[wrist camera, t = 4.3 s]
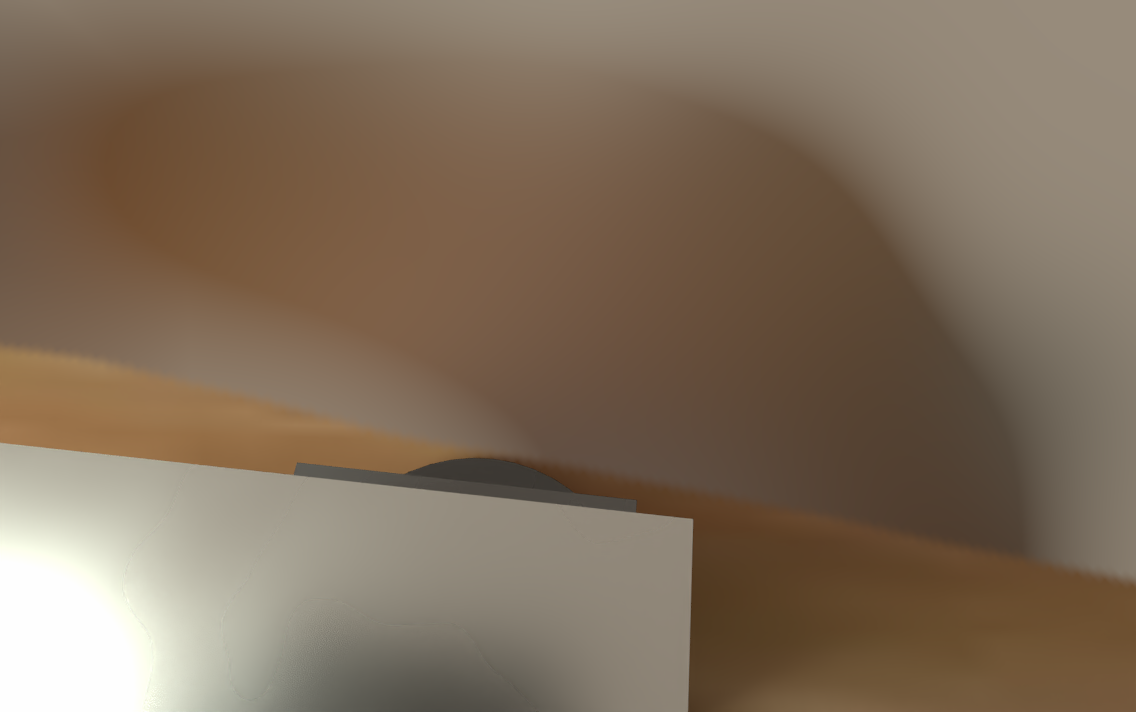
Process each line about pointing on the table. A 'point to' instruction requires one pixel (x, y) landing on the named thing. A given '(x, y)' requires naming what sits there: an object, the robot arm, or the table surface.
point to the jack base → (475, 482)
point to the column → (326, 595)
